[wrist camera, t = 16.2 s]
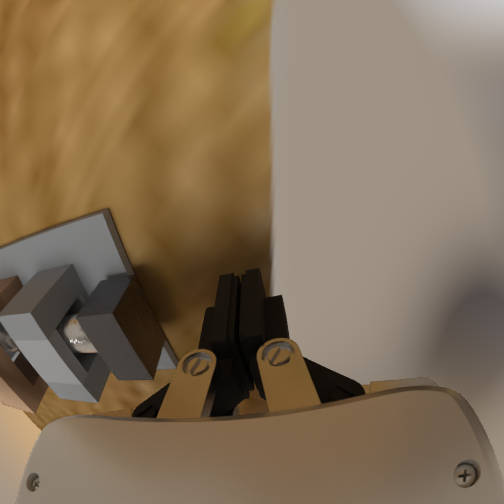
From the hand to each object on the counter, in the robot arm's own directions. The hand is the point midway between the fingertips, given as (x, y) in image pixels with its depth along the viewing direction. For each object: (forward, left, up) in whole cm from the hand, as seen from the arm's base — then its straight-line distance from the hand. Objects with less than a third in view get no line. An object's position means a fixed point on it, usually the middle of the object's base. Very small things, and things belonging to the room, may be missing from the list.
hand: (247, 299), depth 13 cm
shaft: (0, +12, 0) cm, 12 cm away
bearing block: (0, +16, -2) cm, 16 cm away
